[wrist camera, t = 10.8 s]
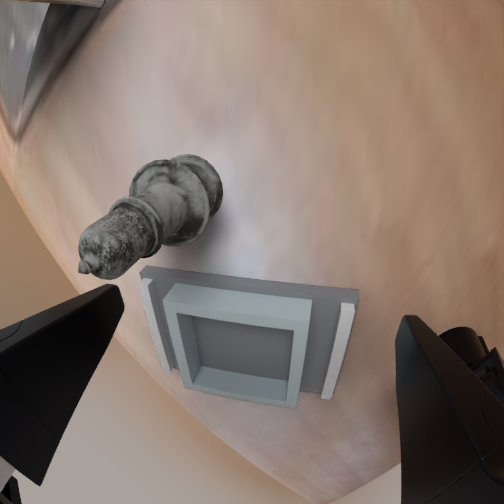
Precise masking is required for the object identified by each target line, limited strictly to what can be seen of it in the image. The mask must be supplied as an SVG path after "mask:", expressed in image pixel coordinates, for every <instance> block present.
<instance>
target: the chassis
mask: <svg viewBox="0 0 504 504" xmlns="http://www.w3.org/2000/svg"><path fill="white" fill-rule="evenodd" d="M140 276H141V281H140V282H139V283H138V287H139V291H140V295H141V299H142V303H143V306H144V310H145V314H146V318H147V321H148V325H149V328H150V332H151V335H152V339H153V342H154V345H155V348H156V352H157V355H158V358H159V361H160V364H161V367H162V370H165V371H168V372H171V371H172V369H173V368H175V369H179V370H180V373H181V377H182V381H183V384H184V387H185V388H188V389H192V390H196V391H200V392H205V393H209V394H214V395H218V396H223V397H228V398H233V399H238V400H243V401H249V402H255V403H261V404H267V405H274V406H281V407H288V408H296V405H297V400H298V394H299V391H302V392H311V393H321V399H331V397H332V395H333V394H334V391H335V388H336V385H337V381H338V378H339V375H340V371H341V368H342V365H343V361H344V357H345V354H346V350H347V346H348V343H349V339H350V335H351V331H352V327H353V323H354V319H355V315H356V310H357V306H358V301H359V293H358V290H356V289H345V288H335V287H324V286H314V285H304V284H295V283H285V282H276V281H267V280H258V279H249V278H240V277H232V276H223V275H215V274H207V273H199V272H191V271H183V270H175V269H168V268H160V267H153V266H146V267H145V268H144V269H143V270H142V271H141V272H140Z"/></svg>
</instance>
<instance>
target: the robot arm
mask: <svg viewBox="0 0 504 504" xmlns="http://www.w3.org/2000/svg"><path fill="white" fill-rule="evenodd" d="M123 312H124V302H123V299H122V296H121V293H120V289H119V287H118V286H116V285H113V284H105V285H103V286H100V287H98V288H96V289H93V290H91V291H88V292H86V293H84V294H81V295H79V296H77V297H75V298H72V299H70V300H67V301H65V302H63V303H60V304H58V305H56V306H54V307H51V308H49V309H47V310H44V311H42V312H40V313H37V314H35V315H33V316H31V317H28V318H26V319H25V320H22V321H20V322H17V323H15V324H12V325H10V326H8V327H6V328H3V329H1V330H0V504H22V503H21V498H20V493H19V488H18V481H17V479H16V478H15V477H13V476H12V474H13V472H14V471H15V469H16V470H18V471H19V472H20V473H22V474H23V475H25V476H26V477H27V478H28V479H30V480H31V481H32V482H34V483H35V484H37V485H38V486H41V484H42V482H43V480H44V477H45V475H46V472H47V470H48V467H49V465H50V463H51V461H52V458H53V456H54V454H55V451H56V449H57V447H58V445H59V442H60V440H61V438H62V435H63V433H64V431H65V429H66V427H67V425H68V423H69V421H70V418H71V417H72V414H73V412H74V410H75V408H76V406H77V404H78V402H79V400H80V398H81V396H82V394H83V392H84V390H85V389H86V387H87V385H88V383H89V381H90V379H91V377H92V375H93V373H94V371H95V370H96V368H97V366H98V364H99V362H100V360H101V358H102V357H103V355H104V353H105V351H106V349H107V347H108V345H109V343H110V341H111V339H112V337H113V334H114V332H115V330H116V328H117V325H118V323H119V321H120V319H121V316H122V314H123ZM395 351H396V395H397V405H398V416H399V429H400V446H401V486H402V487H401V504H504V361H503V359H502V357H501V356H500V354H499V352H498V351H497V349H496V347H494V348H493V349H492V350H490V351H491V352H489V350H488V348H487V346H486V344H485V341H484V339H483V337H482V336H477V334H476V332H475V331H474V330H473V329H471V328H468V327H456V328H453V329H450V330H448V331H446V332H444V333H442V334H441V335H439V336H438V335H437V334H436V333H435V332H434V331H433V330H432V329H431V328H430V327H428V326H427V325H426V324H425V323H424V322H423V321H422V320H421V319H420V318H419V317H418V316H416V315H405V316H403V318H402V320H401V323H400V326H399V329H398V332H397V336H396V340H395Z"/></svg>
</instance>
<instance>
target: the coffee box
mask: <svg viewBox="0 0 504 504" xmlns="http://www.w3.org/2000/svg"><path fill="white" fill-rule="evenodd" d="M13 1H29V2H41V3H59V4H72V5H81V6H90V7H98V8H100V7H102V5H103V3H104V1H105V0H13Z"/></svg>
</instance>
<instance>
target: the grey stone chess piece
mask: <svg viewBox="0 0 504 504" xmlns="http://www.w3.org/2000/svg"><path fill="white" fill-rule="evenodd" d="M222 196H223V189H222V183H221V180H220V177H219V175H218V173H217V172H216V170H215V169H214V167H213V166H212V165H211V164H210V163H208V162H207V161H206V160H204V159H202V158H200V157H199V156H195V155H190V154H187V155H179V156H177V157H174V158H172V159H170V160H156V161H153V162H151V163H148V164H146V165H145V166H143V167H142V168H141V169H140V170H139V171H138V172H137V173H136V175H135V177H134V178H133V180H132V183H131V186H130V190H129V197H124V198H121V199H119V200H117V201H116V202H115V203H114V204H113V205H112V207H111V208H110V210H109V214H107V215H106V216H104V217H103V218H101V219H100V220H98V221H96V222H95V223H93V224H92V225H90V226H89V227H88V228H87V229H85V231H84V232H83V233H82V234H81V237H80V240H79V246H78V250H79V255H80V258H81V261H80V262H79V267H78V269H79V270H78V272H79V273H82V274H89V273H92V274H93V275H94V276H96V277H98V278H101V279H107V280H112V279H116V278H118V277H120V276H121V275H123V274H124V273H125V272H126V271H127V270H128V269H129V268H130V267H131V266H132V265H134V264H135V263H136V262H137V261H138V260H139V259H140V258H148V257H151V256H152V255H154V254H156V253H157V251H158V250H159V249H160V248H161V245H162V244H164V245H167V246H178V247H179V246H183V245H187V244H189V243H191V242H193V241H194V240H196V239H197V238H198V237H199V236H200V235H201V234H202V232H203V231H204V229H205V227H206V225H207V223H208V219H209V218H210V217H212V216H213V215H214V214H215V212H216V211H217V210H218V208H219V206H220V204H221V201H222Z"/></svg>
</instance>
